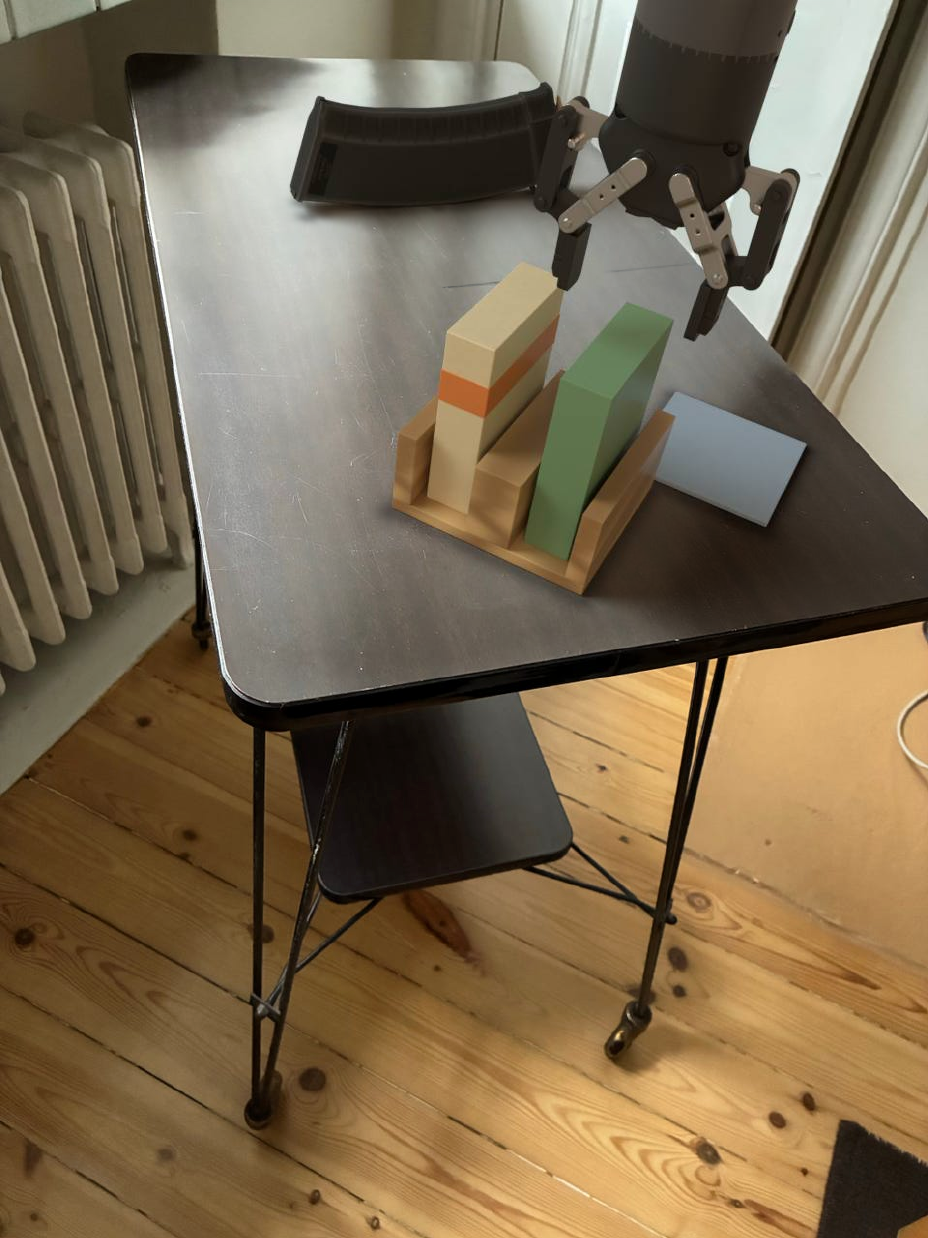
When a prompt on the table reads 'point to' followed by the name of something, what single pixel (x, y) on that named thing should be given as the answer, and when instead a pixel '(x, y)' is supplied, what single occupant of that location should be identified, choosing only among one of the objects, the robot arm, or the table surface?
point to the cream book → (491, 376)
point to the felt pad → (727, 459)
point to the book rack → (527, 491)
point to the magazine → (423, 151)
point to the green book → (595, 423)
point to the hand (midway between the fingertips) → (629, 309)
